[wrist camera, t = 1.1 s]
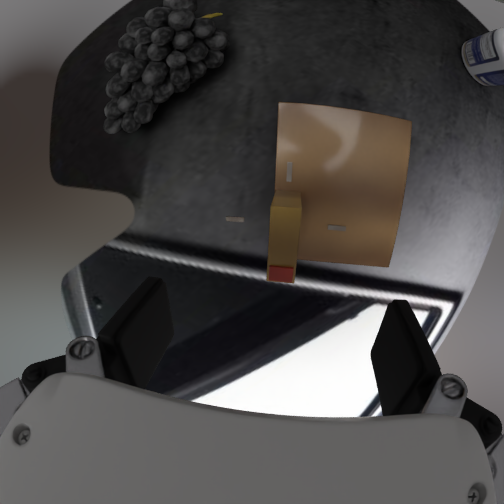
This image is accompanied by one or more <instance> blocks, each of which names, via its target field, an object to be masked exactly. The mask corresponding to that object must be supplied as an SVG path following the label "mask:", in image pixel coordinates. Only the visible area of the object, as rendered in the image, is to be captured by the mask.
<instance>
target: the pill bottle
mask: <svg viewBox="0 0 504 504" xmlns="http://www.w3.org/2000/svg"><path fill="white" fill-rule="evenodd" d="M462 59H463V62H464V64H465V66H466V68H467V70H468V72H469V73H470V74H471V76H472V77H473V78H474V79H475V80H476V81H478V82H479V83H480V84H482V85H485V86H496V85H504V28H500V29H496V30H494V31H491V32H488V33H485V34H483V35H480V36H478V37H475V38H473V39H470V40H468V41H466V42H465V43H464V44H463V46H462Z"/></svg>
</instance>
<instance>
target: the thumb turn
mask: <svg viewBox="0 0 504 504" xmlns="http://www.w3.org/2000/svg"><path fill="white" fill-rule="evenodd" d="M301 213H302V204H301V192H296V191H284V190H276V192H275V195H274V198H273V201H272V204H271V208H270V227H269V246H268V263H267V279H266V280H267V281H273V282H284V283H294V280H295V272H296V263H297V254H298V245H299V235H300V224H301Z"/></svg>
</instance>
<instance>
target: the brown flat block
mask: <svg viewBox="0 0 504 504" xmlns="http://www.w3.org/2000/svg"><path fill="white" fill-rule="evenodd" d="M411 129H412V122H411V121H408V120H404V119H400V118H396V117H391V116H386V115H382V114H377V113H371V112H366V111H360V110H354V109H347V108H340V107H333V106H324V105H315V104H304V103H290V102H278V127H277V151H276V174H275V192H276V190H284V191H296V192H301V204H302V213H301V224H300V235H299V245H298V254H297V259H298V260H310V261H321V262H332V263H343V264H355V265H366V266H377V267H389V264H390V260H391V256H392V252H393V248H394V244H395V239H396V235H397V230H398V225H399V220H400V215H401V210H402V204H403V198H404V192H405V185H406V178H407V171H408V162H409V153H410V142H411ZM274 195H275V194H274ZM226 221H232V222H244V217H231V216H226Z"/></svg>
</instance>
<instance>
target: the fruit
mask: <svg viewBox="0 0 504 504" xmlns="http://www.w3.org/2000/svg"><path fill="white" fill-rule="evenodd" d="M163 6H164V7H156V8H153V9H151V10H149V11H148V12H147V14H146V15H145V18H143V17H138V18H134V19H133V20H132V21H131V22H130V23H128V25H127V28H126V31H127V34H124V35H123V36H122V37H121V38H120V39H119V43H118V47H119V49H120V50H121V52H114V53H111V54H110V55H109V56H107V58H106V60H105V67H106V69H107V70H108V71H110V72H118V73H117V74H116V75H115V76H114V77H113V78H112V79H111V80H110V81H109V82H108V84H107V86H106V93H107V95H108V96H109V97H112V101H110V102H109V103H107V105H106V107H105V109H104V110H105V116H107V117H108V118H107V119H106V120H105V122H104V127H103V128H104V130H105V132H107V133H109V134H115V133H117V132H118V131H120V130H121V128H122V129H123V130H124V131H126V132H128V133H132V132H136V131H137V130H138V128H139V127H140V125H141V124H145V123H148V122H150V121H151V119H152V117H153V112H155V111H156V109H157V108H158V104H159V103H163V102H165V101H167V100H169V98H170V96H171V95H172V94H173V92H176V93H177V92H184V91H186V90H187V89H188V88H189V86H190V84H191V83H195V82H196V81H197V79H199V78H201V77H203V76H204V74H205V73H206V70H207V67H208V68H216V67H219V66H220V65H222V63H223V62H224V54H223V52H225V50H226V49H227V48H228V47H229V42H228V38H229V37H228V35H227V33H225V32H223V31H221V30H219V29H217V28H216V26H215V22H213V21H212V20H211V19H210V18H213V17H217V16H220V15H223V14H222V13H214V14H209V15H206V16H203V17H199V18H194V13H193V12H195V11H196V9H197V2H196V0H163Z"/></svg>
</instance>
